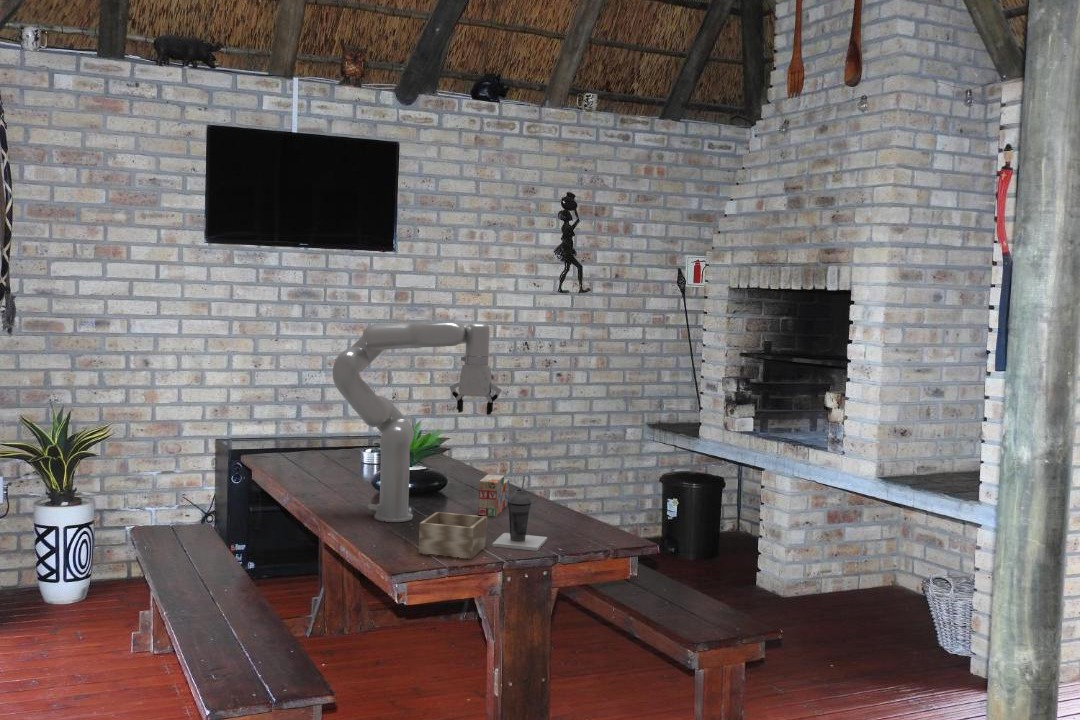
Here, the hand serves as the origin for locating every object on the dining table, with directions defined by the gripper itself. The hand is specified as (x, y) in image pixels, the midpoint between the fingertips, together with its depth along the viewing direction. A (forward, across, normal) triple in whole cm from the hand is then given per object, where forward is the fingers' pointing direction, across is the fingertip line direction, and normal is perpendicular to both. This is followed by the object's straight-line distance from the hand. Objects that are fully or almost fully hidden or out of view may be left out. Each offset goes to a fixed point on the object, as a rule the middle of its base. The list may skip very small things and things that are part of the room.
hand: (474, 413), depth 355 cm
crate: (+36, +5, -36) cm, 51 cm away
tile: (+36, +22, -21) cm, 47 cm away
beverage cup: (+36, +21, -21) cm, 46 cm away
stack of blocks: (+37, +2, +21) cm, 42 cm away
